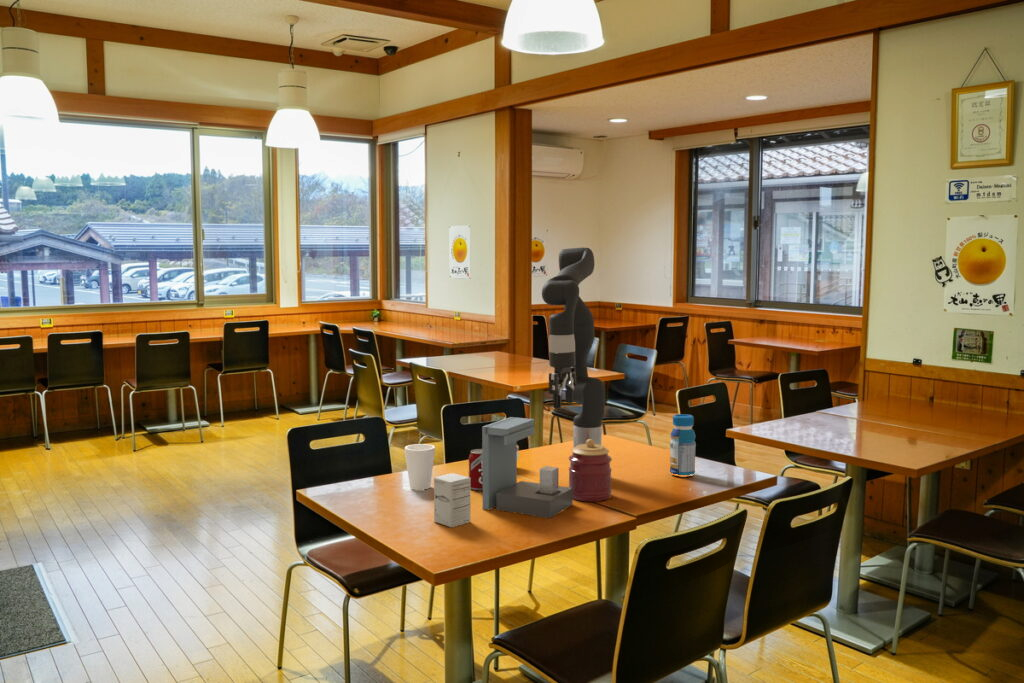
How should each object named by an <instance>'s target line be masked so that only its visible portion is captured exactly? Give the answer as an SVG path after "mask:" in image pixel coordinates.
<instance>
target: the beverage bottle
mask: <svg viewBox="0 0 1024 683" xmlns="http://www.w3.org/2000/svg"><path fill="white" fill-rule="evenodd" d="M694 420H695V418H694V416H693V415H692V414H684V413H681V414H680V413H679V414H678V413H676V414H674V415H673V417H672V426H673V429H672V430H671V431H670V435H669V436H670V438H671V439H670V442H669V447H670V449H669V450H670V452H669V453H670V457H669V458H670V459H669V461H670V462H669V465H670V467H669V473H670V472H671V473H673V474H678V475H690V474H694V473H695V472H696V447H697V443H696V441H695V440H696V433H695V429H693V426H695V425H694V424H695V421H694ZM695 474H696V473H695Z"/></svg>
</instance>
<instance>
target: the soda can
mask: <svg viewBox="0 0 1024 683" xmlns="http://www.w3.org/2000/svg"><path fill="white" fill-rule="evenodd" d="M468 477H469V478H471V482H470V490H473V491H476V490H483V477H482V448H477V449H476V448H475V449H471V450H470V454H469V456H468Z"/></svg>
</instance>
